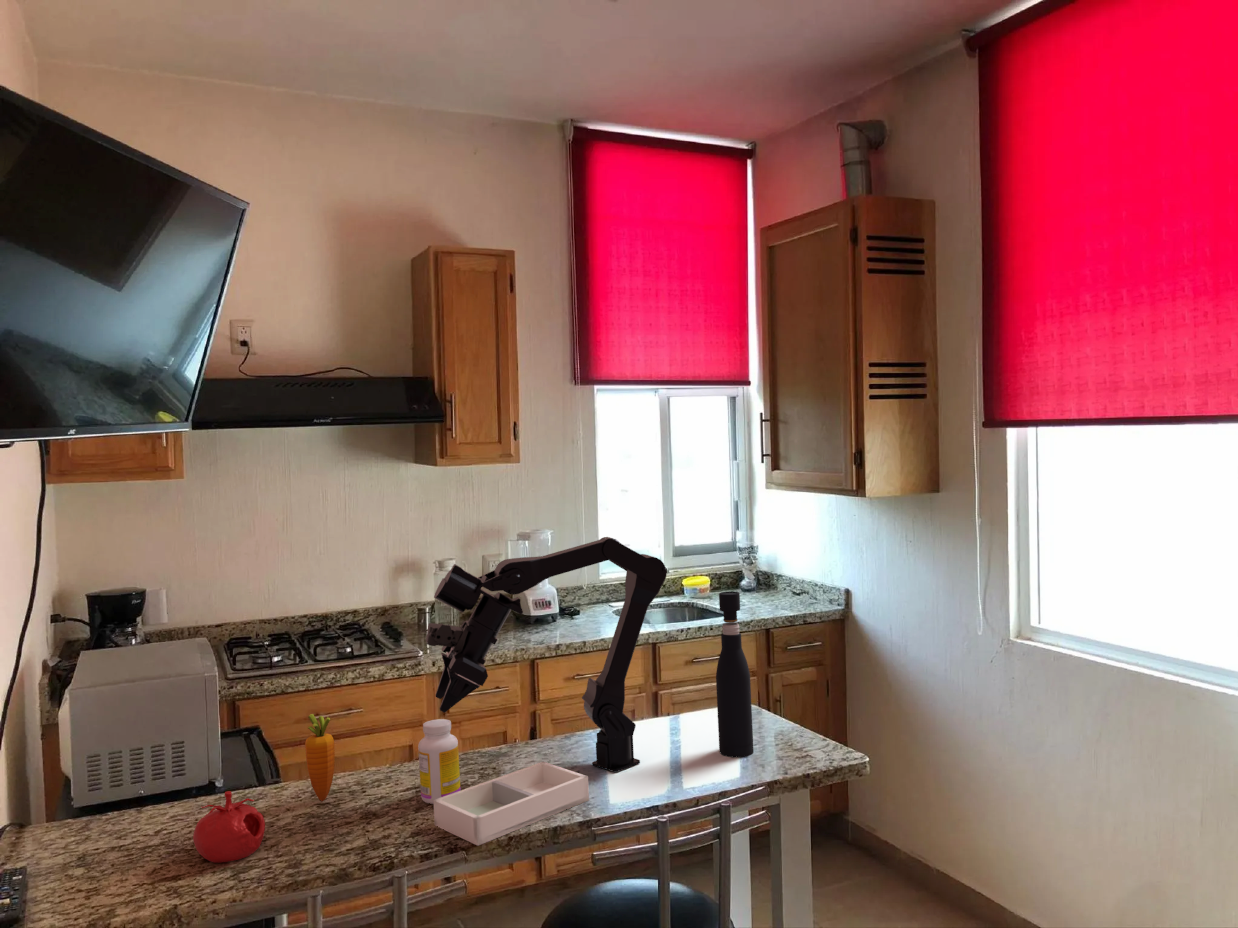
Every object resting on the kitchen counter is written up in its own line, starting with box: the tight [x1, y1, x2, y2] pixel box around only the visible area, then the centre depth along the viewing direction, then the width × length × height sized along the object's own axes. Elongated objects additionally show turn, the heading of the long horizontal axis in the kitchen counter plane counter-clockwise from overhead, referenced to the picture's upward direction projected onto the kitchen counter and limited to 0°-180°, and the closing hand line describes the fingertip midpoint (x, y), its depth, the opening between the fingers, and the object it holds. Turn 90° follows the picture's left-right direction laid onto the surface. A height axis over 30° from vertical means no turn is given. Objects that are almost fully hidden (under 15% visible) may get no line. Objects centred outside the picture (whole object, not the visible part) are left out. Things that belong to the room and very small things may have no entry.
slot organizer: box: [433, 761, 590, 847], centre depth 146 cm, size 22×12×4 cm, turn 134°
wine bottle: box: [715, 591, 754, 758], centre depth 171 cm, size 6×6×30 cm
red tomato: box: [192, 790, 266, 864], centre depth 136 cm, size 10×10×9 cm
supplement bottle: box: [417, 718, 462, 805], centre depth 154 cm, size 7×7×13 cm
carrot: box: [304, 713, 336, 802], centre depth 155 cm, size 5×5×15 cm
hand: (439, 704), depth 158 cm, fingers open, 9 cm apart
